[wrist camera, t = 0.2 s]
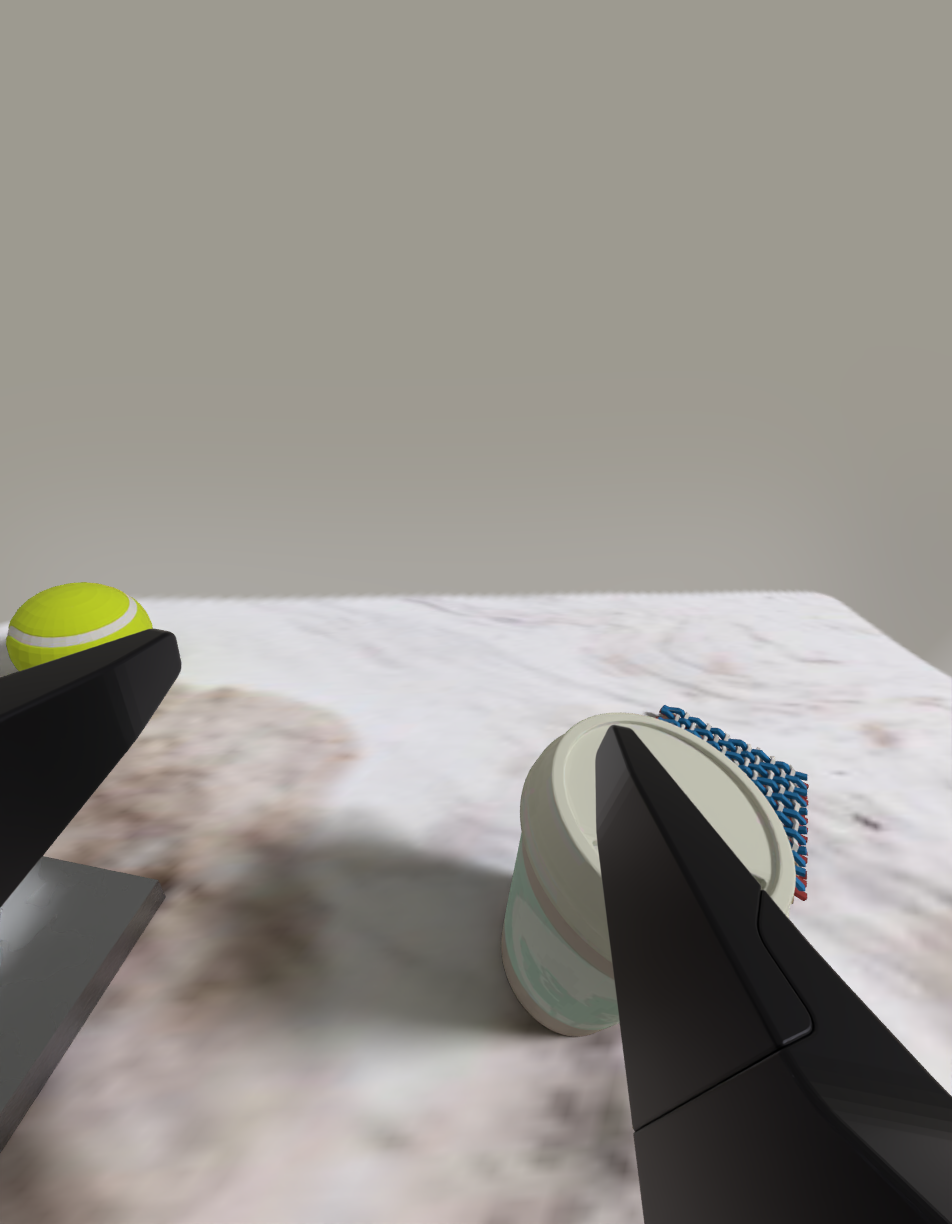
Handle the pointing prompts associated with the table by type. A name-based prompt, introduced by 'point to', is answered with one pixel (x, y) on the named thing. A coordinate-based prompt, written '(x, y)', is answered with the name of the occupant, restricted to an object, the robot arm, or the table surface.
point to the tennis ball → (71, 622)
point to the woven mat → (761, 783)
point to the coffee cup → (571, 876)
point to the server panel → (59, 966)
